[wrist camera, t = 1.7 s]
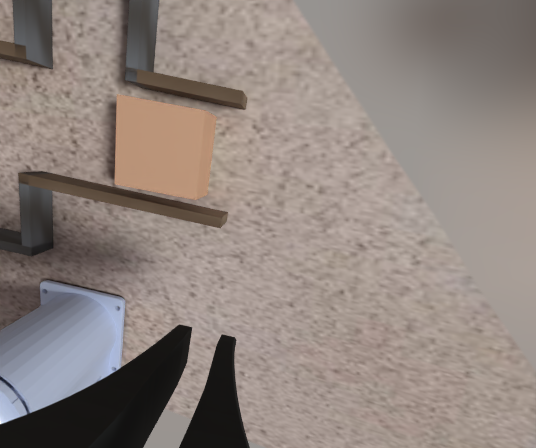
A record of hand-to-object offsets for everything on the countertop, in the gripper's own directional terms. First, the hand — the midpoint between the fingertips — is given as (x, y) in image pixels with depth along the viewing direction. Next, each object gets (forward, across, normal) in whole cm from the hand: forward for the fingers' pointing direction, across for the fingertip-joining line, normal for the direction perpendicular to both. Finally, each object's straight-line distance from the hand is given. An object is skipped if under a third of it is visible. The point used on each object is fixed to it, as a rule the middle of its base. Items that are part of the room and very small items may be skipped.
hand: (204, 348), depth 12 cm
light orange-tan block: (+11, +7, -8) cm, 15 cm away
